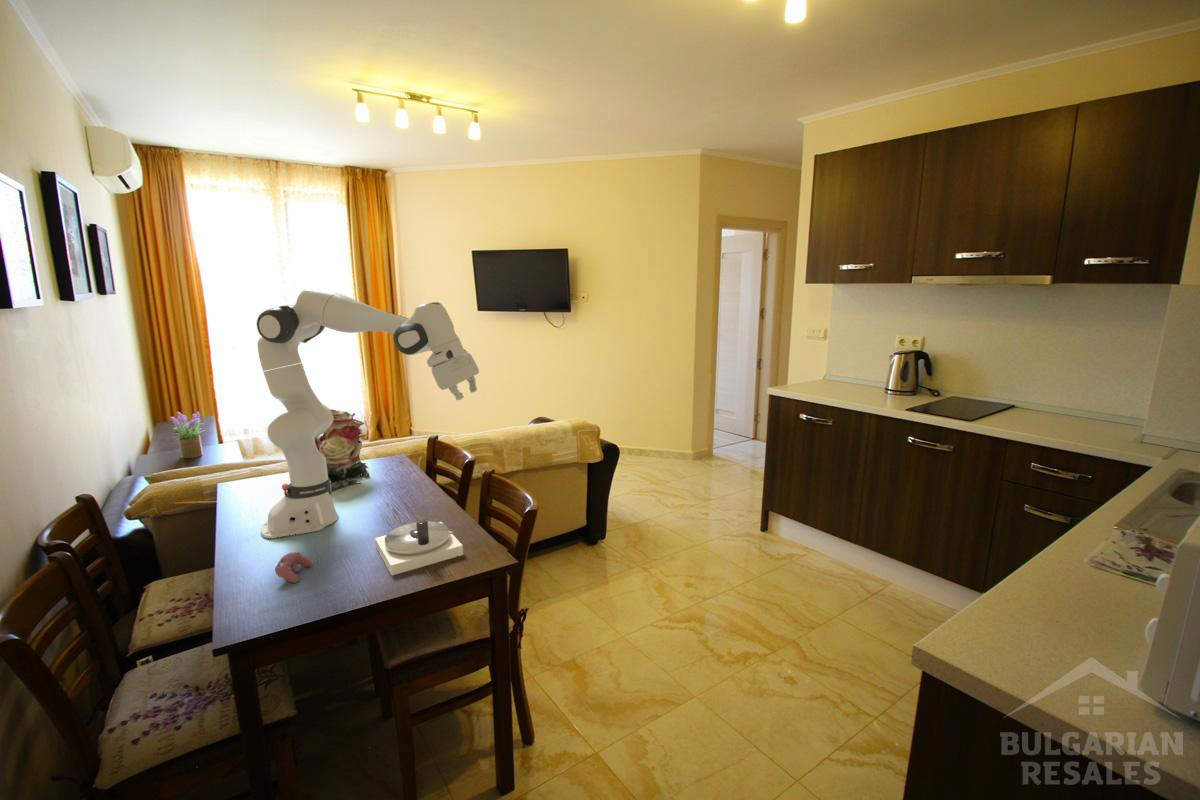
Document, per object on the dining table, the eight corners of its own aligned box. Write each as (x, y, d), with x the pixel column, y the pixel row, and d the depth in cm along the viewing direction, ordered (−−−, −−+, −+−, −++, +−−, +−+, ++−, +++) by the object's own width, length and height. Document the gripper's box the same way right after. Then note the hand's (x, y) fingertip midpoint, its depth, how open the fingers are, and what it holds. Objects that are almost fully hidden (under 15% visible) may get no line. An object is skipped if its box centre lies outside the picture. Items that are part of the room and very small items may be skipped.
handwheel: (379, 537, 159) (376, 512, 158) (438, 522, 169) (436, 498, 168) (393, 561, 145) (390, 534, 143) (458, 544, 154) (456, 518, 153)
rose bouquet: (289, 482, 217) (279, 411, 211) (363, 466, 236) (356, 400, 230) (306, 500, 198) (296, 421, 192) (385, 480, 218) (378, 409, 212)
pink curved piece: (301, 571, 150) (286, 551, 149) (315, 563, 150) (300, 543, 149) (283, 590, 141) (268, 569, 139) (298, 582, 140) (283, 561, 139)
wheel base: (391, 575, 144) (390, 564, 143) (376, 547, 160) (374, 537, 160) (464, 554, 155) (463, 544, 154) (442, 530, 171) (441, 520, 171)
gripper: (456, 350, 172) (473, 390, 174) (423, 363, 152) (443, 407, 155) (473, 344, 170) (490, 384, 172) (441, 356, 151) (461, 400, 153)
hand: (467, 395), depth 163 cm, fingers open, 8 cm apart
